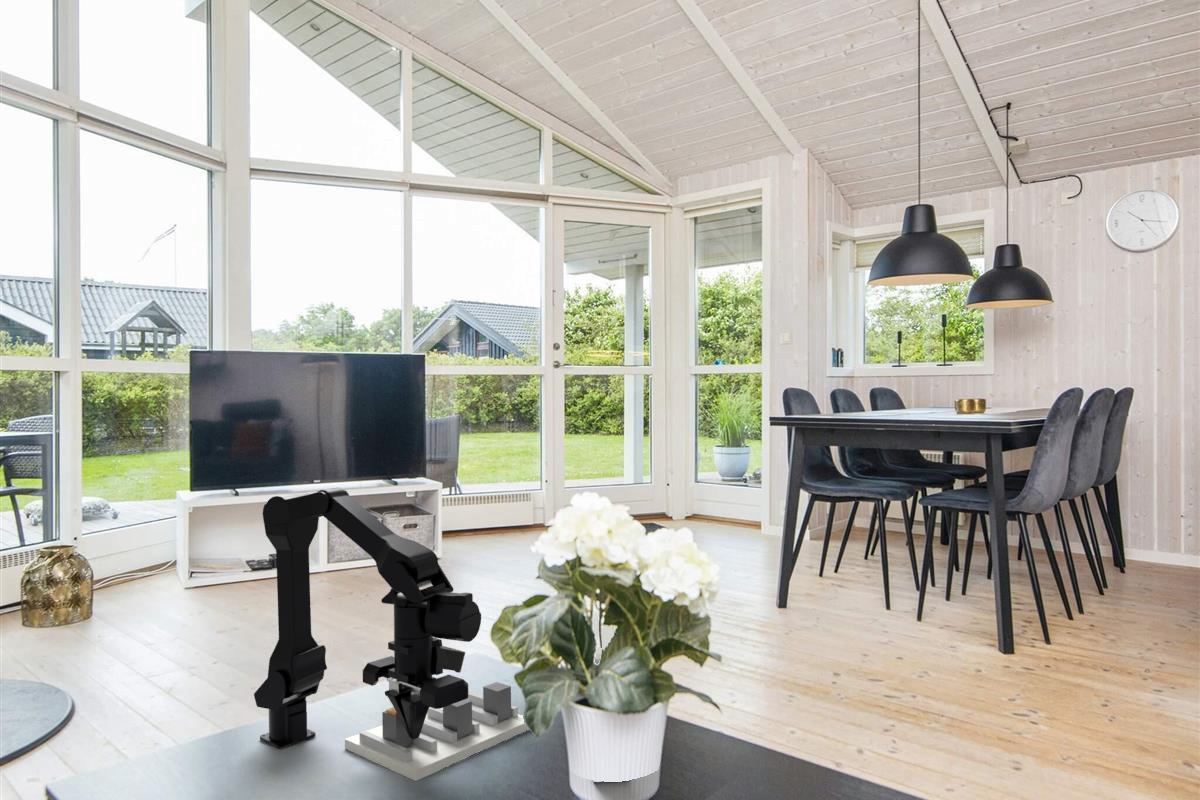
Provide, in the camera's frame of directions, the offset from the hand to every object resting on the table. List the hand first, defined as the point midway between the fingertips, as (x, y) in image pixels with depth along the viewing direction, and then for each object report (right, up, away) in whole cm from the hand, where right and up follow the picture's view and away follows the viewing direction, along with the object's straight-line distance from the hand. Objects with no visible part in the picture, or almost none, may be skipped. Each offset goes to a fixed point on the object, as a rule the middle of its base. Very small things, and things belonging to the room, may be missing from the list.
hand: (414, 738), depth 122 cm
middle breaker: (+5, -2, +7) cm, 9 cm away
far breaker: (+11, -2, +13) cm, 17 cm away
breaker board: (+2, -4, +9) cm, 10 cm away
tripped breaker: (-3, -2, +3) cm, 5 cm away
